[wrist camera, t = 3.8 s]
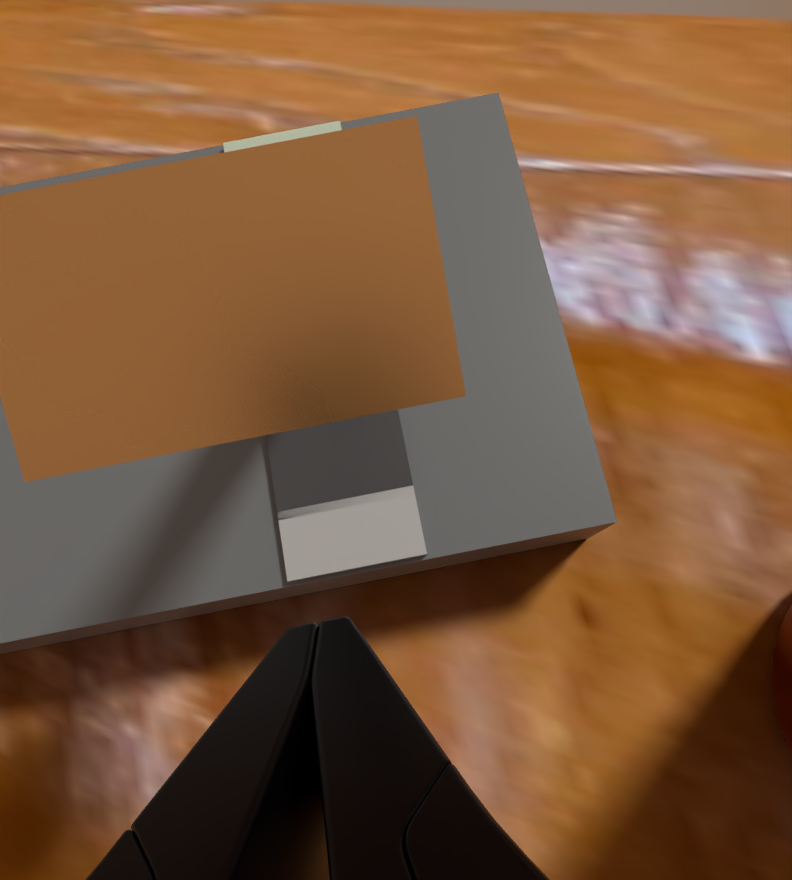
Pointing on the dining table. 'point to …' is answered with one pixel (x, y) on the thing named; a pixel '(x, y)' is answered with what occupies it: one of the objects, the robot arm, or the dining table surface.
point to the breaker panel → (335, 446)
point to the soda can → (783, 677)
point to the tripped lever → (222, 299)
